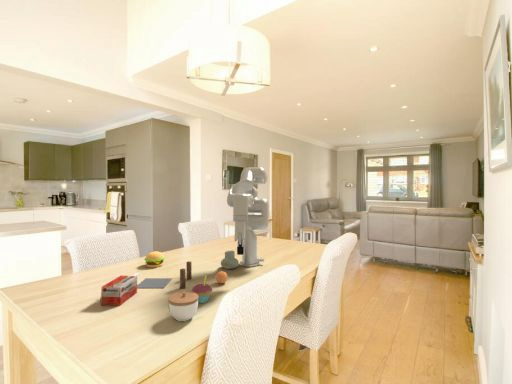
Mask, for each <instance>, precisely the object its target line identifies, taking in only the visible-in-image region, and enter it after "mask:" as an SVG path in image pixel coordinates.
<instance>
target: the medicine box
mask: <svg viewBox="0 0 512 384" xmlns="http://www.w3.org/2000/svg"><path fill="white" fill-rule="evenodd" d="M137 285H138V279H137V276H132V275H119V276H118V277H116V278H114V279H112V280H110V281H109V282H107V283H106V284H104V285H102V286H101V292H100V293H101V294H100V300H101V301H100V303H101V304H100V306H113V307H114V306H115V307H120V306H122V305H124V303H126V302H127V301H128V300H130V299H131V298H132V297H133V296H135V295H136V294H138V288H137Z"/></svg>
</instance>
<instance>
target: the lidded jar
mask: <svg viewBox="0 0 512 384" xmlns="http://www.w3.org/2000/svg"><path fill="white" fill-rule="evenodd" d="M198 298H199V296H198V294H196V293H194V292H192V291H180V292H177V293H173V294H172V295H170V296H169V297H168V310H169V313H170V315H171V316H172V318H173V319H176V320H178V321H177V322H179V321H184V322H186V321H185V320H188V321H190V320H191V319H192V318H193V317H194V316H195V315H196V313H197V311H198V307H199V303H198ZM189 319H190V320H189ZM176 320H175V321H176Z"/></svg>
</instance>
